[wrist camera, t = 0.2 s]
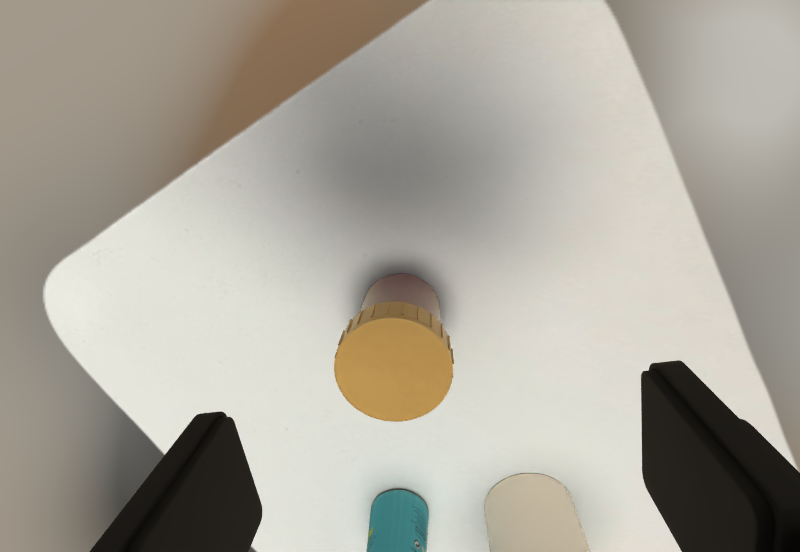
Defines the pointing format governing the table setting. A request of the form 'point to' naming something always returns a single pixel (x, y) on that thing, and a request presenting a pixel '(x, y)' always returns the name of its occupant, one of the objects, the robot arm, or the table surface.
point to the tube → (398, 523)
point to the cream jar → (403, 293)
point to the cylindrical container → (532, 516)
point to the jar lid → (394, 362)
